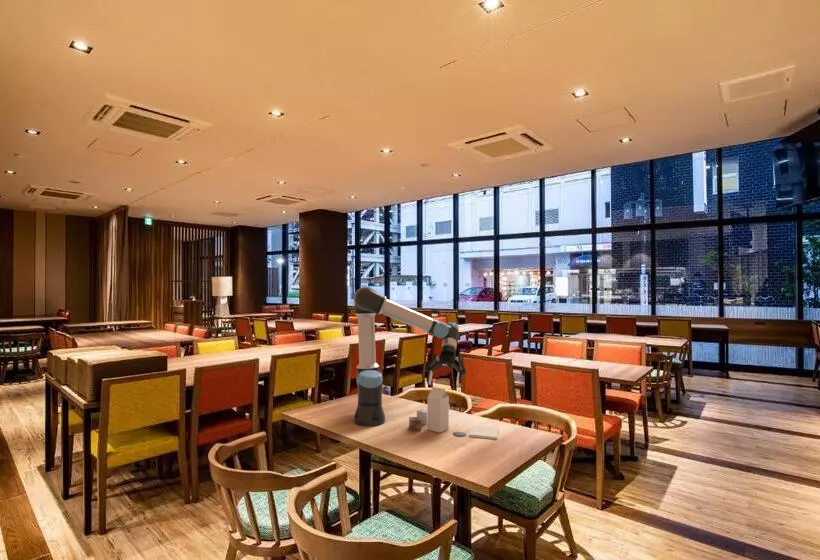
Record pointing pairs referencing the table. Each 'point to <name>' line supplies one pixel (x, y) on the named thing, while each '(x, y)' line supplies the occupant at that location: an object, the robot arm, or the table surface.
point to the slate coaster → (459, 434)
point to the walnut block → (415, 423)
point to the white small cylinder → (422, 416)
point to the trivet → (484, 432)
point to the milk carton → (438, 410)
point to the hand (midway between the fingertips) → (443, 384)
